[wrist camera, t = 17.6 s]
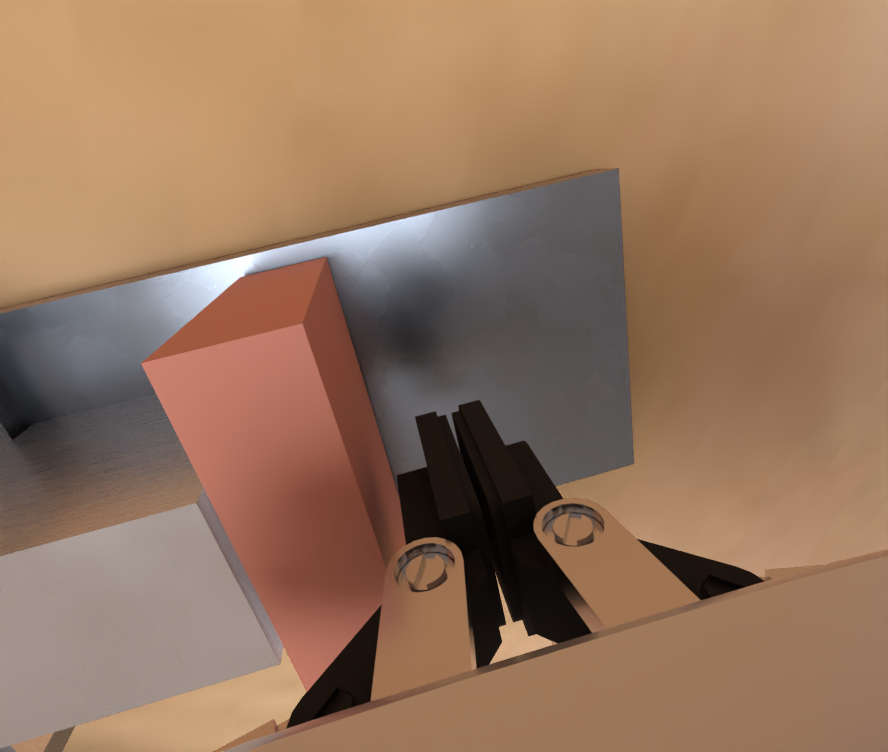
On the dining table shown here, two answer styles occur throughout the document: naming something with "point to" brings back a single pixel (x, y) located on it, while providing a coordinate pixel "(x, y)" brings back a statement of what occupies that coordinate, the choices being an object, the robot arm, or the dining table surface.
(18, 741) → the steel block
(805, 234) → the dining table surface
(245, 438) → the block
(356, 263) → the metal base plate
